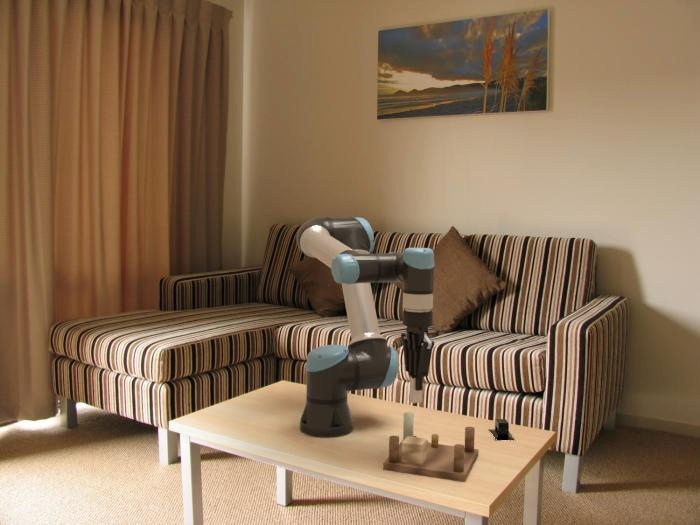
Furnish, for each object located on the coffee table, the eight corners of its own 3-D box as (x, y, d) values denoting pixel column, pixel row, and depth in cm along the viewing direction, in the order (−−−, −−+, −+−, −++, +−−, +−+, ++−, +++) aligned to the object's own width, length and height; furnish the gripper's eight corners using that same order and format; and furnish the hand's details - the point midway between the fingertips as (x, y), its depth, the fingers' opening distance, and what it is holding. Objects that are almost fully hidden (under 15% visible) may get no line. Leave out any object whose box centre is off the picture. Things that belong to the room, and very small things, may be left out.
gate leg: (402, 444, 185) (402, 414, 185) (404, 441, 188) (404, 411, 187) (427, 447, 184) (427, 416, 183) (428, 443, 186) (429, 413, 186)
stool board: (383, 469, 173) (383, 439, 172) (403, 445, 190) (403, 417, 189) (465, 481, 166) (466, 450, 165) (478, 455, 183) (479, 426, 182)
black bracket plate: (519, 444, 193) (520, 428, 193) (493, 444, 193) (493, 428, 193) (508, 429, 206) (509, 414, 205) (483, 429, 206) (483, 414, 205)
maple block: (401, 462, 173) (402, 442, 173) (406, 455, 178) (407, 436, 178) (421, 465, 172) (422, 445, 171) (426, 458, 176) (426, 438, 176)
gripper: (444, 312, 173) (442, 407, 176) (418, 305, 185) (416, 393, 187) (417, 314, 170) (415, 410, 173) (392, 306, 182) (390, 396, 184)
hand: (415, 401), depth 180 cm, fingers closed
